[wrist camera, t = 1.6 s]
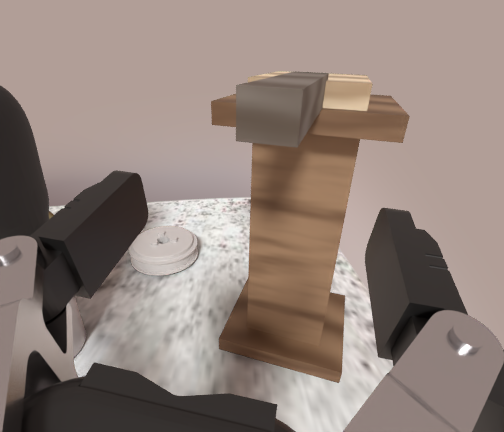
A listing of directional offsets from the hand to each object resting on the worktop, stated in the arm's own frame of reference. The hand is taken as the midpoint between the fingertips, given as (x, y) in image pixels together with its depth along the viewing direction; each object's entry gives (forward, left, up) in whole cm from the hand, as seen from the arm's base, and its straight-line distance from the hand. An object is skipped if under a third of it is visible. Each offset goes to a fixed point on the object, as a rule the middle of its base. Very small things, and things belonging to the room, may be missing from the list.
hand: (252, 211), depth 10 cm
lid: (-40, +15, -32) cm, 53 cm away
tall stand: (-13, +20, -31) cm, 39 cm away
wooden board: (-10, +15, +1) cm, 18 cm away
